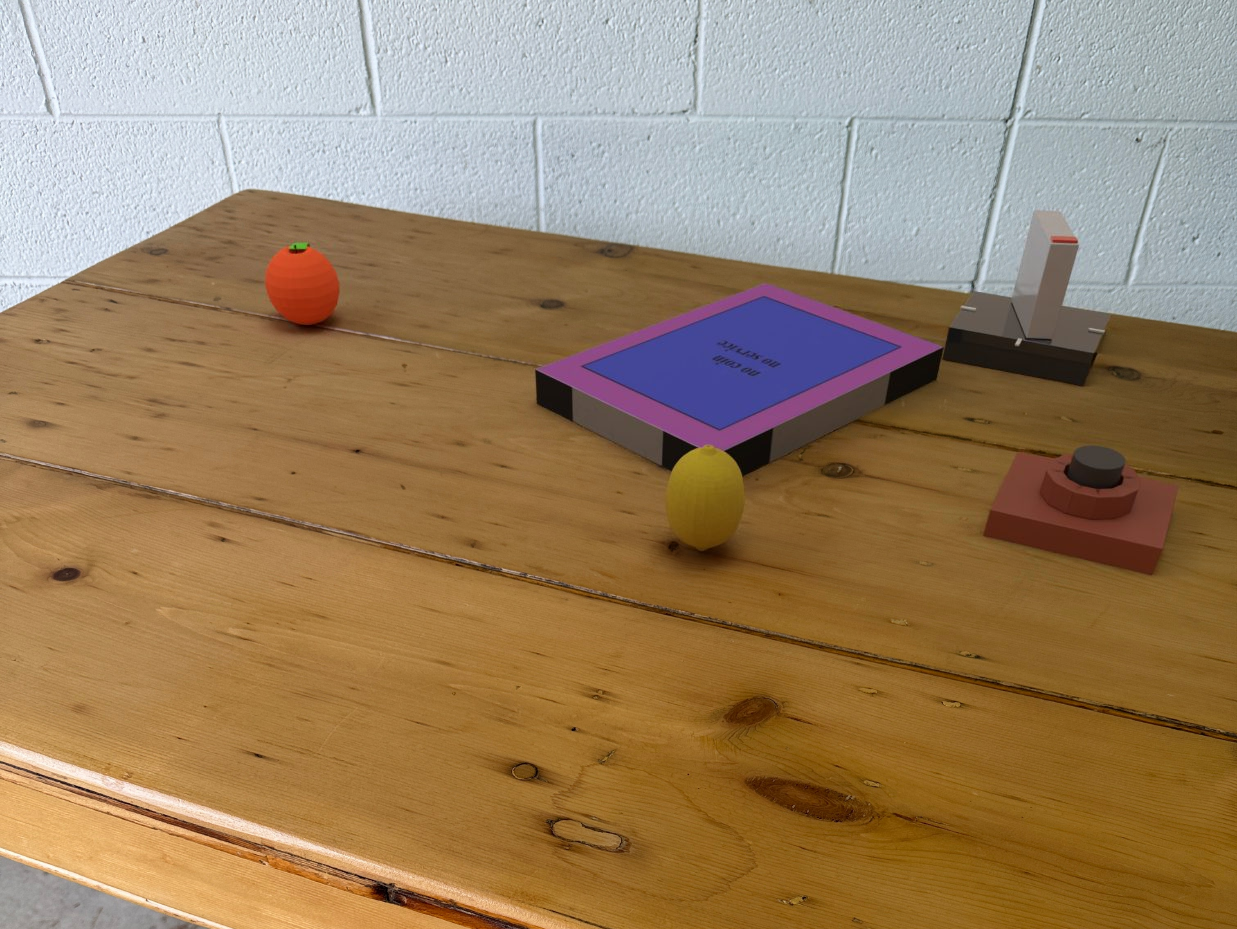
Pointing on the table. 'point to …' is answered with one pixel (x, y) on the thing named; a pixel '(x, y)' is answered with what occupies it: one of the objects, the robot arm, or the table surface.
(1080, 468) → the button
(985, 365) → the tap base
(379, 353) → the table surface
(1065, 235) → the grey panel on base
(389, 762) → the table surface
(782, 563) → the table surface
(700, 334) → the book
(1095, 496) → the switch block
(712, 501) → the lemon
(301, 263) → the clementine
